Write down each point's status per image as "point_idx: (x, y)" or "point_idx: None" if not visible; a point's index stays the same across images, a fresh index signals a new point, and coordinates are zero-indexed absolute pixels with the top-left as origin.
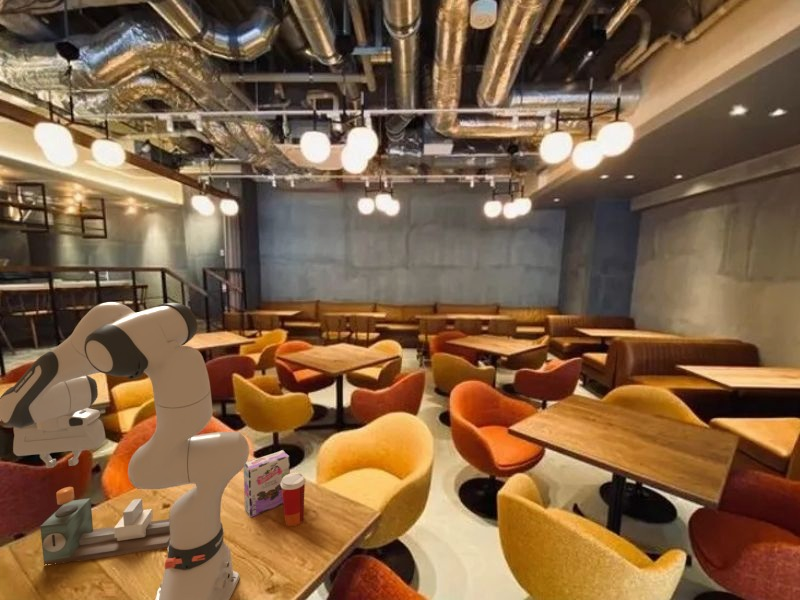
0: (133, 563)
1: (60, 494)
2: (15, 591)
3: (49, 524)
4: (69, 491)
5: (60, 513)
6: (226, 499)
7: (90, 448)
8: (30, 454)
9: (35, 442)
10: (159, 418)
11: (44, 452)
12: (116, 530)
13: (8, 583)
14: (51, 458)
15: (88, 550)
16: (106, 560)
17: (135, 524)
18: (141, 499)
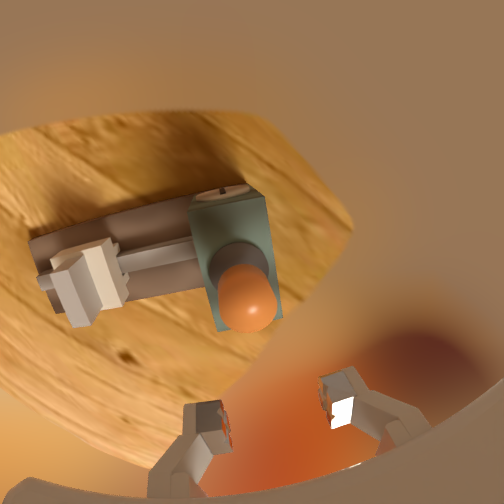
0: (60, 193)
1: (244, 283)
2: (247, 116)
3: (239, 204)
4: (221, 303)
5: (245, 255)
6: (38, 359)
7: (48, 485)
8: (479, 399)
9: (500, 490)
10: None
11: (403, 452)
12: (98, 244)
13: (282, 139)
14: (357, 424)
15: (166, 215)
16: (117, 199)
17: (62, 258)
18: (71, 324)
